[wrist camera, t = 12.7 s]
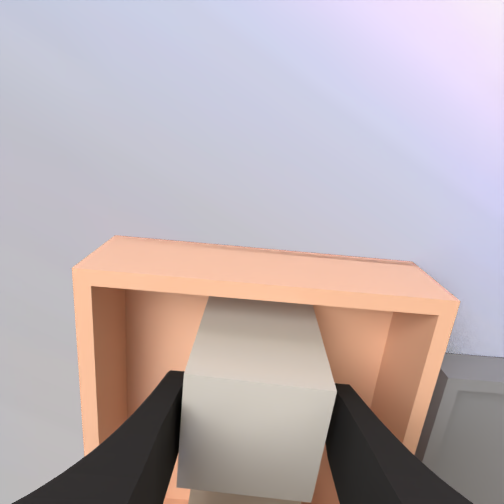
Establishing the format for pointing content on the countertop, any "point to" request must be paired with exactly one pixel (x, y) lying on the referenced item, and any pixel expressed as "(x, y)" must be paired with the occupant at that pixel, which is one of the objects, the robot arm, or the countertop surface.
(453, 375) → the stone tray
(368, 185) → the countertop surface
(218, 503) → the block
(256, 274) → the bin
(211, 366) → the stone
